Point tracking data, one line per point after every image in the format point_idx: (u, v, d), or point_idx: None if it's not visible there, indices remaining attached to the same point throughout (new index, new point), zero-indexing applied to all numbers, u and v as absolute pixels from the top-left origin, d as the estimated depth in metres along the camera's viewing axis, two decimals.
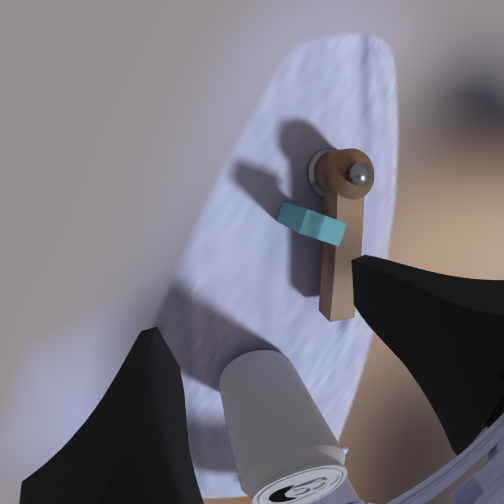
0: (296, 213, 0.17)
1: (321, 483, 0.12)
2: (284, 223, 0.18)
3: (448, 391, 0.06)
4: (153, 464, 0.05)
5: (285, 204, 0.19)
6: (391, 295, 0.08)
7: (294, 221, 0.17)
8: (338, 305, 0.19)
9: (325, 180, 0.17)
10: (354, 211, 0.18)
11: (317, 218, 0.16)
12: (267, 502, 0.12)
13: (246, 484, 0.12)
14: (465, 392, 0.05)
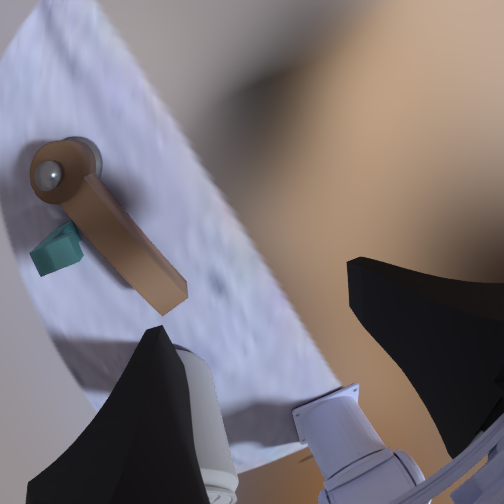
0: None
1: None
2: None
3: (443, 395, 0.06)
4: (161, 463, 0.05)
5: (54, 232, 0.15)
6: (386, 297, 0.08)
7: None
8: (155, 297, 0.16)
9: None
10: (87, 203, 0.13)
11: (41, 254, 0.12)
12: None
13: None
14: (460, 396, 0.05)
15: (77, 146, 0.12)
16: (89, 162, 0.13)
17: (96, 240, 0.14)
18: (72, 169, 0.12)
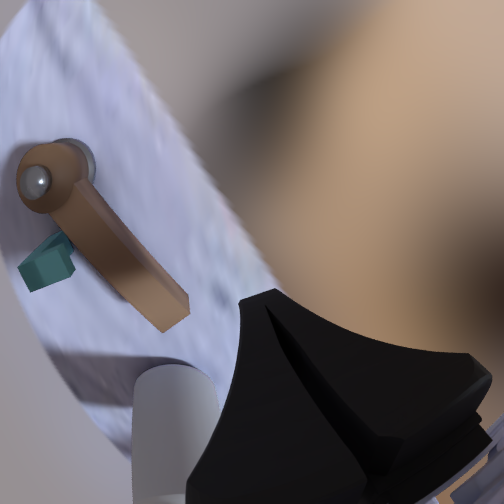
0: None
1: None
2: None
3: None
4: None
5: (45, 242, 0.13)
6: (284, 341, 0.07)
7: None
8: (154, 314, 0.14)
9: None
10: (78, 212, 0.11)
11: (30, 268, 0.10)
12: None
13: None
14: None
15: (67, 149, 0.11)
16: (80, 166, 0.12)
17: (89, 252, 0.12)
18: (61, 175, 0.10)
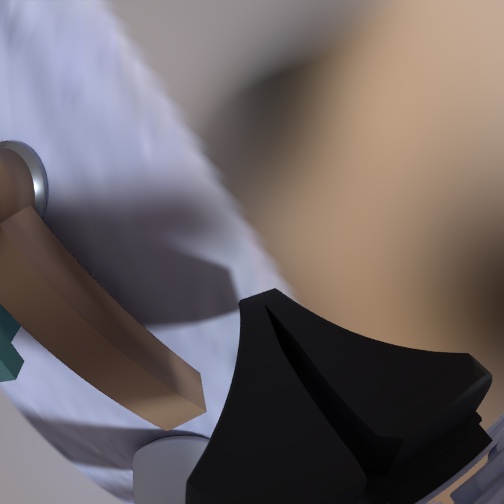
0: None
1: None
2: None
3: None
4: None
5: None
6: (284, 341, 0.07)
7: None
8: (153, 413, 0.08)
9: None
10: (12, 272, 0.06)
11: None
12: None
13: None
14: None
15: None
16: (15, 190, 0.06)
17: (41, 335, 0.06)
18: None
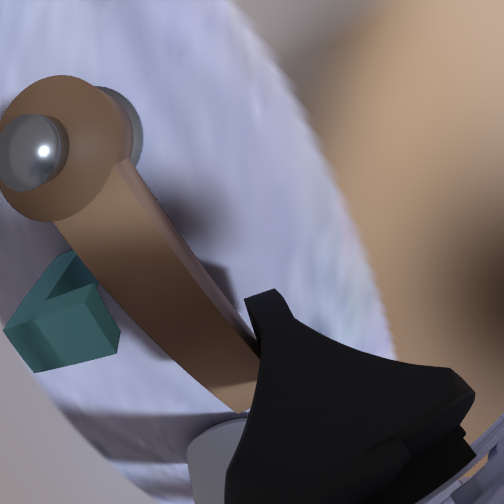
0: None
1: None
2: None
3: None
4: None
5: (50, 268, 0.08)
6: None
7: None
8: (233, 393, 0.09)
9: None
10: (117, 225, 0.06)
11: (28, 334, 0.05)
12: None
13: None
14: None
15: (105, 95, 0.05)
16: (125, 135, 0.06)
17: (133, 304, 0.07)
18: (90, 143, 0.05)
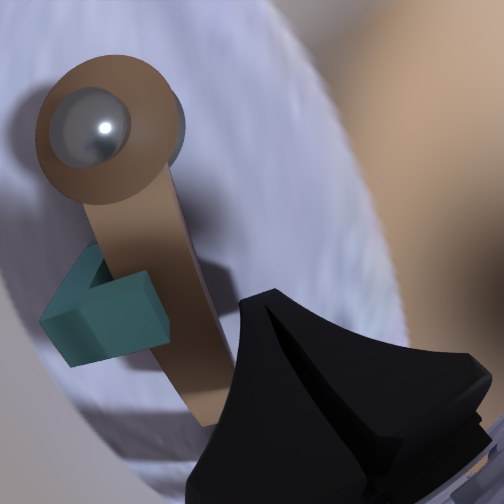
0: None
1: None
2: None
3: None
4: None
5: (81, 258, 0.08)
6: (284, 341, 0.07)
7: None
8: (205, 407, 0.09)
9: None
10: (148, 226, 0.06)
11: (70, 325, 0.05)
12: None
13: None
14: None
15: None
16: (176, 139, 0.07)
17: None
18: (148, 139, 0.05)
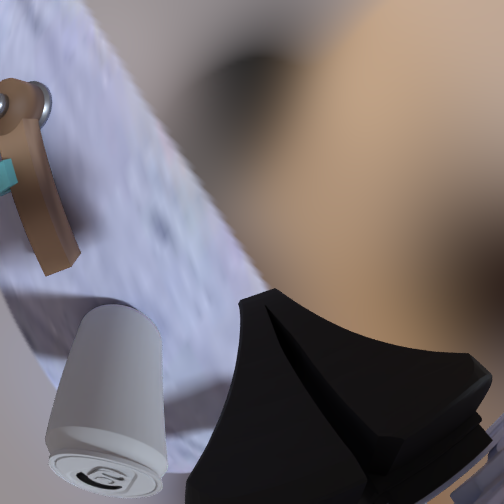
0: None
1: (116, 473, 0.09)
2: (2, 193, 0.12)
3: None
4: None
5: None
6: (284, 341, 0.07)
7: None
8: (43, 255, 0.13)
9: None
10: (16, 143, 0.10)
11: None
12: (97, 488, 0.09)
13: None
14: None
15: (30, 89, 0.10)
16: (34, 107, 0.11)
17: None
18: (16, 108, 0.09)
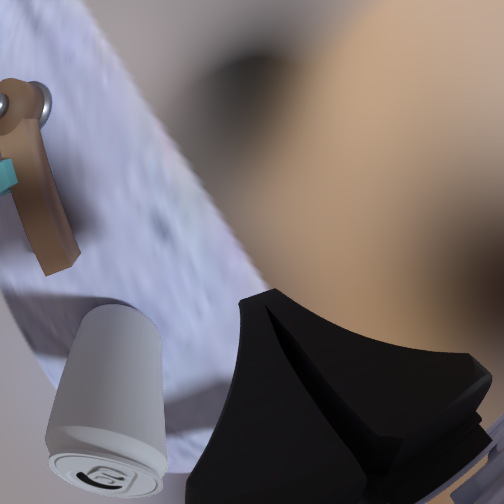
0: None
1: (116, 472, 0.09)
2: (2, 193, 0.12)
3: None
4: None
5: None
6: (284, 341, 0.07)
7: None
8: (43, 255, 0.13)
9: None
10: (16, 143, 0.10)
11: None
12: (97, 488, 0.09)
13: None
14: None
15: (30, 89, 0.10)
16: (34, 107, 0.11)
17: None
18: (16, 108, 0.09)
